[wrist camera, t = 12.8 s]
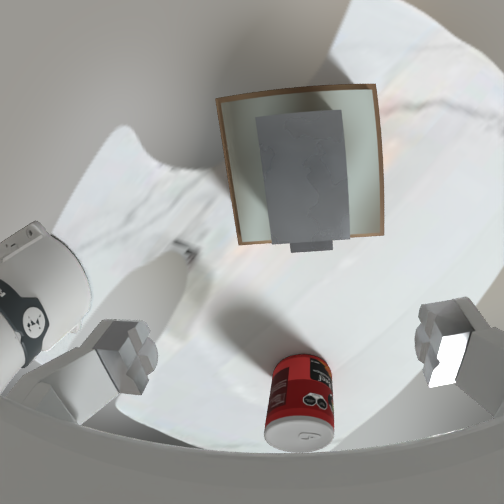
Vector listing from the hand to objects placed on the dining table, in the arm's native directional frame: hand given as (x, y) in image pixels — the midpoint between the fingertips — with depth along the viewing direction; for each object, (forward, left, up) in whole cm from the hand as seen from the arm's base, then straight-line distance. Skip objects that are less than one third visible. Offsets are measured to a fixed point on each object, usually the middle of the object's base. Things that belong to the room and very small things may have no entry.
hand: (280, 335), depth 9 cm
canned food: (-1, -26, -24) cm, 35 cm away
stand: (+1, +2, -24) cm, 24 cm away
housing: (+1, +2, -16) cm, 16 cm away
